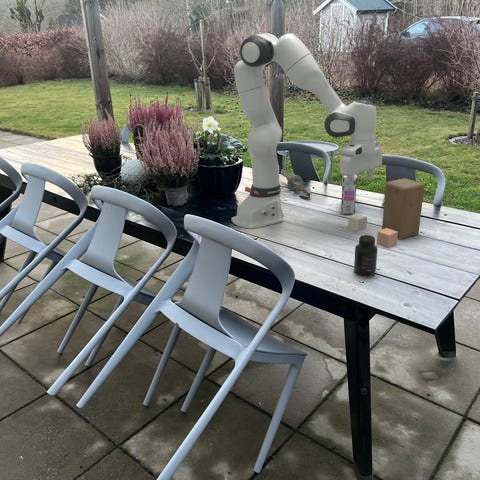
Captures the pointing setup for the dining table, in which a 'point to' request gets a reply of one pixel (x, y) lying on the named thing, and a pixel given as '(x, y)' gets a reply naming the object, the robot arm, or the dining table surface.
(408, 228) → the wooden block
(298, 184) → the spaceship
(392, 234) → the peach cube
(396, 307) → the dining table surface
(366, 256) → the supplement bottle
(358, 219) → the cream cube
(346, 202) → the candy box
